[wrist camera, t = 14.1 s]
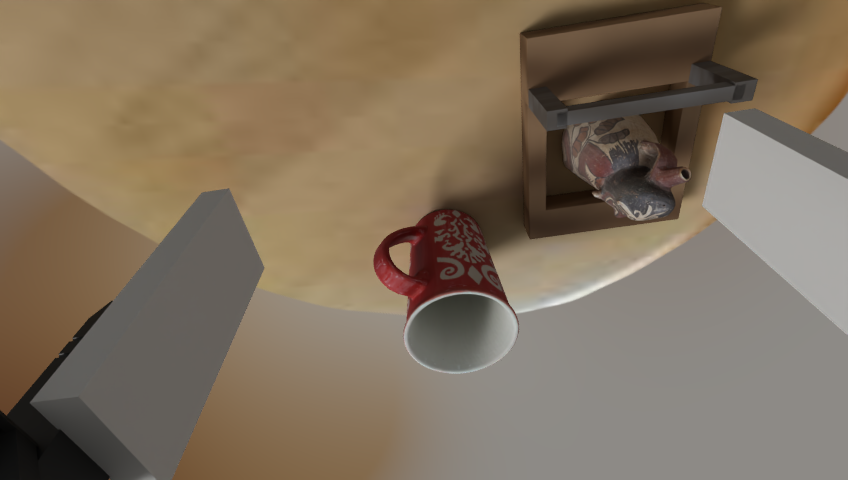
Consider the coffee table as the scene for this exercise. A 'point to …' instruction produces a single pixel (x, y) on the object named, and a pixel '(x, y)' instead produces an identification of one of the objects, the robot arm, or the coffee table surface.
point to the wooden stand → (614, 72)
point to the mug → (450, 294)
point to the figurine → (624, 166)
